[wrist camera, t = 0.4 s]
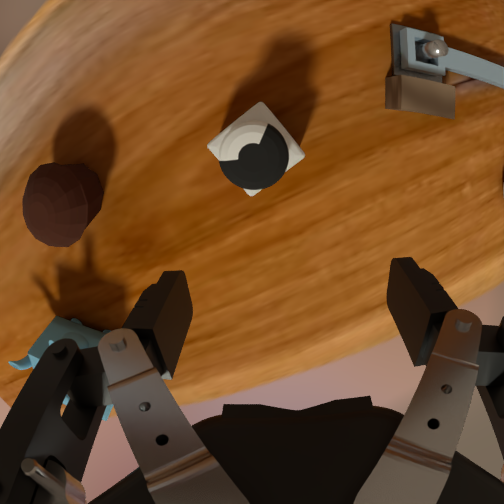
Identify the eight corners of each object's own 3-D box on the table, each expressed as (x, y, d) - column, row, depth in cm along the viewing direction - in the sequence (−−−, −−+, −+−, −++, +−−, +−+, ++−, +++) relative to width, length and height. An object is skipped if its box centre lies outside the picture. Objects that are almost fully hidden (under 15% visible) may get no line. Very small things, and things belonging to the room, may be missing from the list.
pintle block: (389, 24, 28) (411, 12, 22) (437, 36, 27) (463, 28, 21) (392, 75, 31) (414, 70, 25) (439, 84, 30) (466, 83, 24)
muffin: (91, 242, 44) (56, 275, 35) (42, 202, 41) (2, 226, 32) (124, 180, 39) (87, 203, 30) (69, 138, 36) (24, 151, 27)
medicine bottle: (300, 147, 36) (313, 165, 25) (254, 182, 38) (247, 214, 28) (263, 101, 34) (259, 98, 23) (216, 138, 36) (193, 152, 25)
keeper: (385, 77, 31) (401, 74, 26) (434, 87, 31) (455, 86, 26) (385, 108, 33) (401, 109, 28) (434, 116, 32) (454, 119, 28)
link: (401, 68, 29) (408, 67, 28) (399, 30, 27) (406, 27, 25) (506, 97, 28) (516, 98, 26) (506, 64, 26) (515, 64, 24)
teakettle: (155, 362, 54) (132, 425, 41) (99, 383, 59) (75, 434, 46) (86, 286, 47) (41, 342, 34) (39, 321, 53) (3, 368, 39)
